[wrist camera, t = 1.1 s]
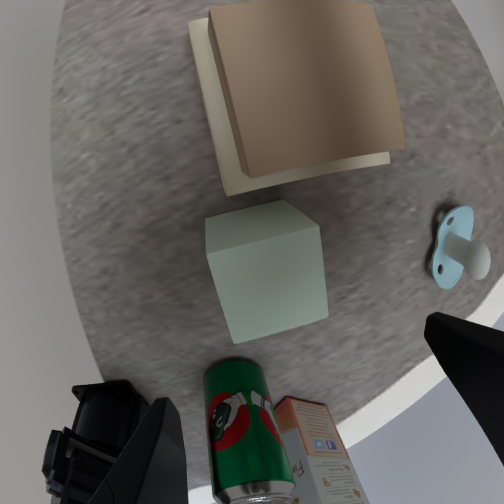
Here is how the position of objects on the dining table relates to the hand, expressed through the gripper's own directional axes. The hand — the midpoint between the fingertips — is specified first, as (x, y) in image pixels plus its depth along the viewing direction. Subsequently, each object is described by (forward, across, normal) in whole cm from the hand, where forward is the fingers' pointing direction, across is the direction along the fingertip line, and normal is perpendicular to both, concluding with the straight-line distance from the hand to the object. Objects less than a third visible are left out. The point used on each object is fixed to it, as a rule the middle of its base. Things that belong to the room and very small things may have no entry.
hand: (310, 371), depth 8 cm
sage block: (+11, 0, 0) cm, 11 cm away
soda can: (+12, +4, +11) cm, 16 cm away
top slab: (+9, -4, -9) cm, 13 cm away
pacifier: (+12, -17, +4) cm, 21 cm away
